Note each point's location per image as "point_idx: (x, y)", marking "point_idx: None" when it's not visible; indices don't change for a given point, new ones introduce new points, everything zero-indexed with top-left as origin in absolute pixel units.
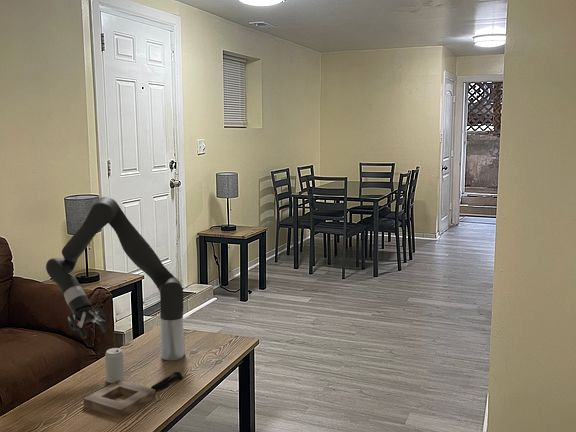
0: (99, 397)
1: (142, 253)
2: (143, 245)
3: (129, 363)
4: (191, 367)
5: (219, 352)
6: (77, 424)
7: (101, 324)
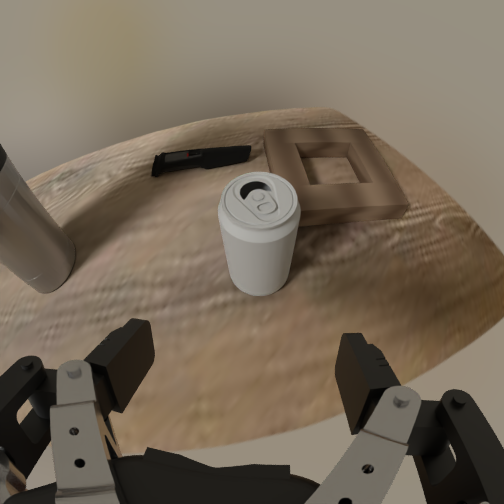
0: (377, 181)
1: None
2: None
3: None
4: (98, 188)
5: None
6: (426, 181)
7: (119, 364)
